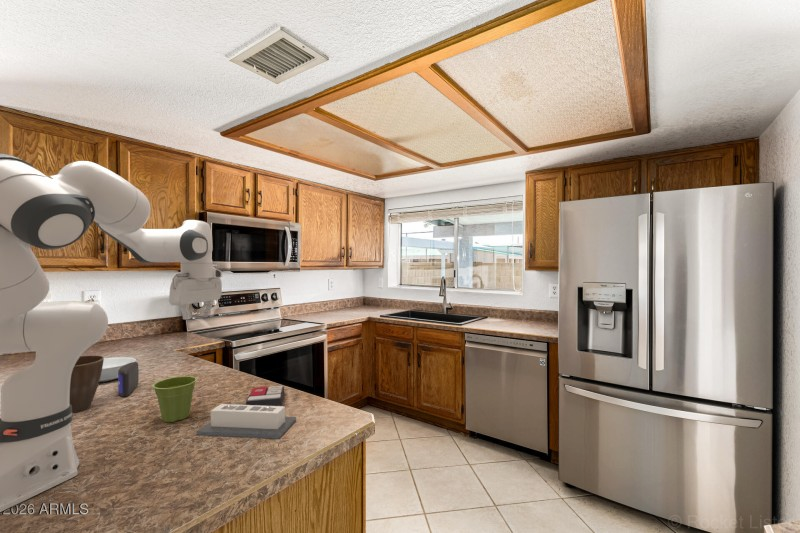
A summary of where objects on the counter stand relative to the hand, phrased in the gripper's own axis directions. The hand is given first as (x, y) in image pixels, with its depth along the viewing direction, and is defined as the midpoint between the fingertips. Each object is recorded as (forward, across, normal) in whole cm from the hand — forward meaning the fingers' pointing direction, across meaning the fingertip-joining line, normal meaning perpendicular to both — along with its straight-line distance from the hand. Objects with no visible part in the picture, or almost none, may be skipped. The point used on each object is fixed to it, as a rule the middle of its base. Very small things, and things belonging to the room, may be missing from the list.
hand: (197, 316), depth 115 cm
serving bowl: (+31, +32, +64) cm, 78 cm away
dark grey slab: (+31, +20, +41) cm, 55 cm away
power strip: (+30, -6, -20) cm, 37 cm away
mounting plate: (+31, -6, -20) cm, 37 cm away
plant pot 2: (+31, -2, +6) cm, 32 cm away
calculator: (+32, +14, -16) cm, 38 cm away
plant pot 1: (+31, +1, +44) cm, 54 cm away
